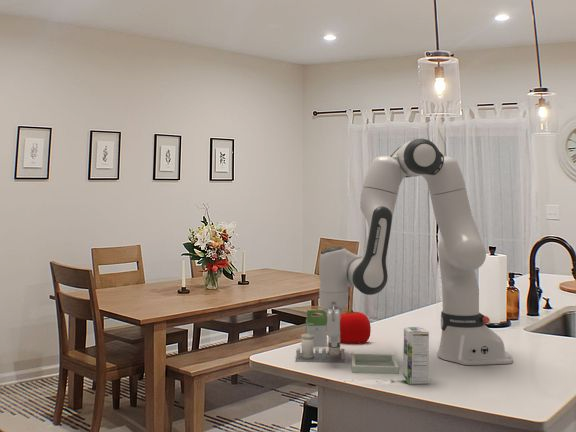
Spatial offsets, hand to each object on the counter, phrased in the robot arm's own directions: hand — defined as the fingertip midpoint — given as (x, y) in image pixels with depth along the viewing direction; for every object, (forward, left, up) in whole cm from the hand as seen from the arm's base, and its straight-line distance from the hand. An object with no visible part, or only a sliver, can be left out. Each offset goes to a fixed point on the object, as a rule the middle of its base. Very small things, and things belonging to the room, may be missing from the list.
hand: (334, 344), depth 177 cm
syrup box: (-23, +17, -6) cm, 29 cm away
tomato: (-6, -22, -6) cm, 23 cm away
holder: (+4, 0, -5) cm, 7 cm away
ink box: (+6, -15, -6) cm, 17 cm away
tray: (-12, +8, -5) cm, 15 cm away
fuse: (0, 0, -3) cm, 3 cm away
